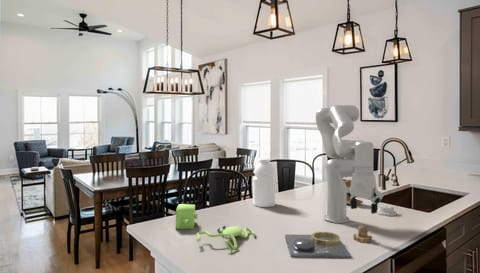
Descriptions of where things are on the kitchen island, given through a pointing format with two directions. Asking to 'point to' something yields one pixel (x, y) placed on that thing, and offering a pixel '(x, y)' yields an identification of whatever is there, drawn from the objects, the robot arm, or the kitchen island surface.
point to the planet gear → (362, 235)
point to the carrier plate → (316, 245)
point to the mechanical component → (386, 210)
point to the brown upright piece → (348, 184)
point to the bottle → (264, 184)
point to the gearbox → (185, 216)
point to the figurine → (228, 234)
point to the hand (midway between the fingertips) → (363, 210)
